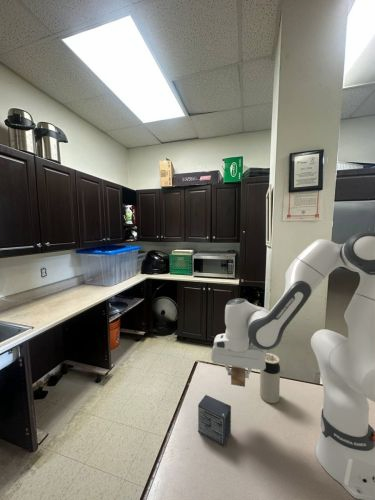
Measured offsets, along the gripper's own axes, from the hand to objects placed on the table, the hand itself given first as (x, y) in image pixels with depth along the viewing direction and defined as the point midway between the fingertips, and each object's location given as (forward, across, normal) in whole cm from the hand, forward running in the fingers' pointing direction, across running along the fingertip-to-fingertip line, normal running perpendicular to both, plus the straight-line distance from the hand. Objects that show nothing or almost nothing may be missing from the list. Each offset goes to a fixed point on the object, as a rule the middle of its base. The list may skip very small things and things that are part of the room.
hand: (238, 375), depth 81 cm
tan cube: (+2, 0, 0) cm, 2 cm away
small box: (+17, +8, +9) cm, 21 cm away
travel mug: (+18, -12, -15) cm, 26 cm away
